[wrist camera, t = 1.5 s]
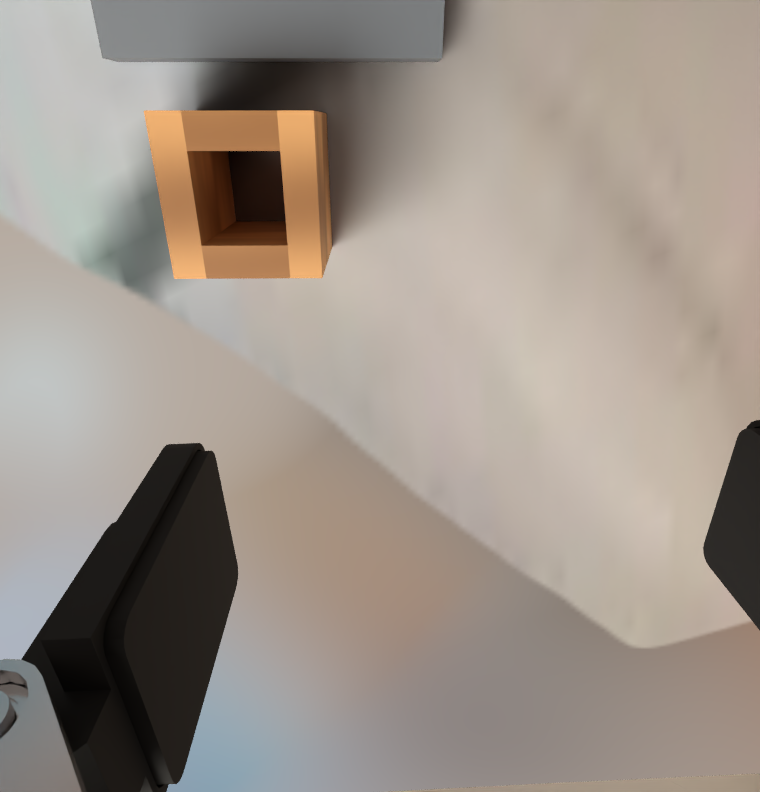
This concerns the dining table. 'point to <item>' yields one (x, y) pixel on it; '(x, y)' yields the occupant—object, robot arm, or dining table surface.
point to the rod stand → (270, 30)
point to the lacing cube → (213, 197)
